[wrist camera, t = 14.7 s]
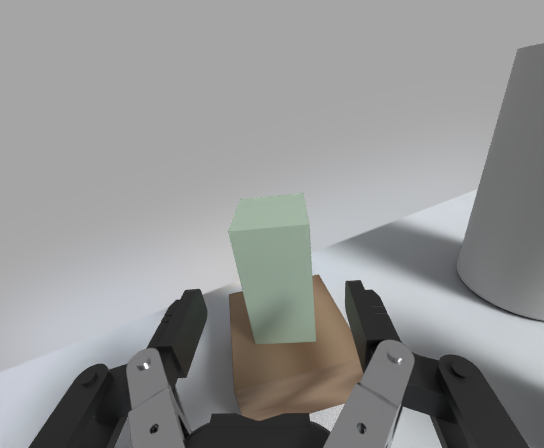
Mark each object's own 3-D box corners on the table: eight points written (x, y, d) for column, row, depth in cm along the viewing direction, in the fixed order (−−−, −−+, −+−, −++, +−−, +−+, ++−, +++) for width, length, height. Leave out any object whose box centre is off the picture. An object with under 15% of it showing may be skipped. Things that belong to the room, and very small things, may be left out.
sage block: (255, 344, 21) (228, 231, 15) (260, 299, 25) (240, 199, 20) (316, 341, 20) (309, 224, 15) (310, 296, 25) (303, 192, 19)
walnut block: (247, 432, 20) (234, 391, 17) (238, 332, 29) (228, 294, 26) (361, 399, 21) (365, 356, 19) (320, 313, 30) (318, 274, 27)
